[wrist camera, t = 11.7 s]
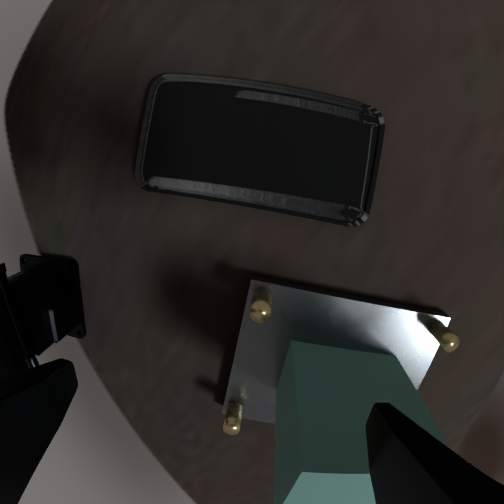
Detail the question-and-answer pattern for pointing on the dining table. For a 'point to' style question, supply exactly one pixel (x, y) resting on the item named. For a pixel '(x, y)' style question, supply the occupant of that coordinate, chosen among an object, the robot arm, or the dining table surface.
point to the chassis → (321, 339)
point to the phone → (260, 147)
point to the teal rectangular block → (335, 421)
